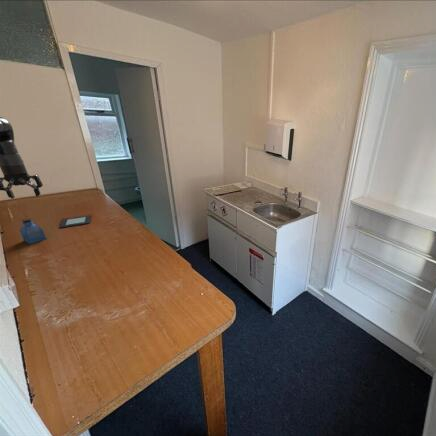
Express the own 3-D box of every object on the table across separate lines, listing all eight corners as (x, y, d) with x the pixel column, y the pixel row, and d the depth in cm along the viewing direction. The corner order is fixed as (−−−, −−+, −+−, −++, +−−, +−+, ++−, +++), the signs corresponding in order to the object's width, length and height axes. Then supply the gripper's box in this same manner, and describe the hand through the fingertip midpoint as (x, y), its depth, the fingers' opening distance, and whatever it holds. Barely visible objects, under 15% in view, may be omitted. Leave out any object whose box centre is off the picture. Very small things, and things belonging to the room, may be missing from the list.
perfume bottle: (41, 236, 122) (32, 216, 117) (47, 239, 119) (38, 218, 114) (24, 241, 116) (14, 220, 112) (30, 245, 114) (20, 223, 109)
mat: (59, 228, 131) (59, 227, 131) (63, 220, 141) (62, 219, 140) (89, 223, 138) (89, 222, 138) (90, 216, 148) (90, 215, 147)
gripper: (-16, 166, 100) (1, 201, 106) (30, 164, 107) (43, 197, 114) (-9, 162, 106) (7, 196, 112) (35, 161, 113) (47, 193, 119)
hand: (25, 197), depth 113 cm, fingers open, 8 cm apart
